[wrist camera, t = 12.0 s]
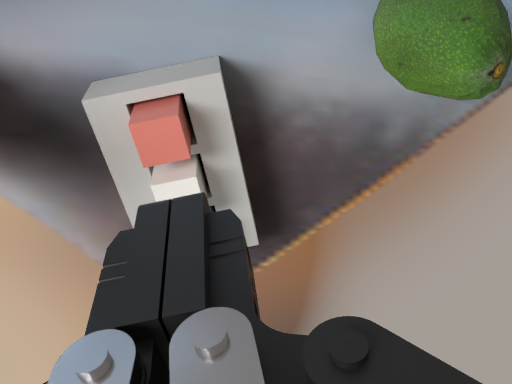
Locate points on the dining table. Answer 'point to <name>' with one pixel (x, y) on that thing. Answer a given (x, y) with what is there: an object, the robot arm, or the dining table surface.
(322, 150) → the dining table surface
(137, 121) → the red key
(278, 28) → the dining table surface
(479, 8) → the avocado
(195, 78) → the button panel
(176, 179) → the white key
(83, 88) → the dining table surface
